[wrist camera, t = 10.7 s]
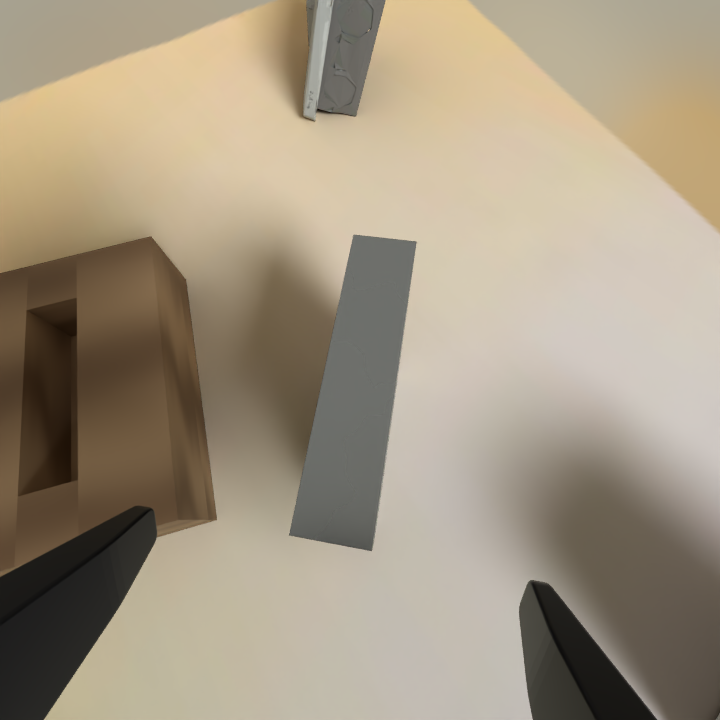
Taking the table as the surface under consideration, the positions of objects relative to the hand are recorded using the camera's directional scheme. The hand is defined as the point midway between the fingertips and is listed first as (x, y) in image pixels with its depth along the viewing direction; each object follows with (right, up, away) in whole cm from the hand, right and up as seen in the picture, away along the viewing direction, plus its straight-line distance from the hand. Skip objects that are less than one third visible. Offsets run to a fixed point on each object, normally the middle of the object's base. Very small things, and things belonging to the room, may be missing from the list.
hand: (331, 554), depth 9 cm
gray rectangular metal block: (+1, 0, +11) cm, 11 cm away
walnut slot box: (-13, +2, +12) cm, 18 cm away
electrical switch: (0, +26, +21) cm, 33 cm away
